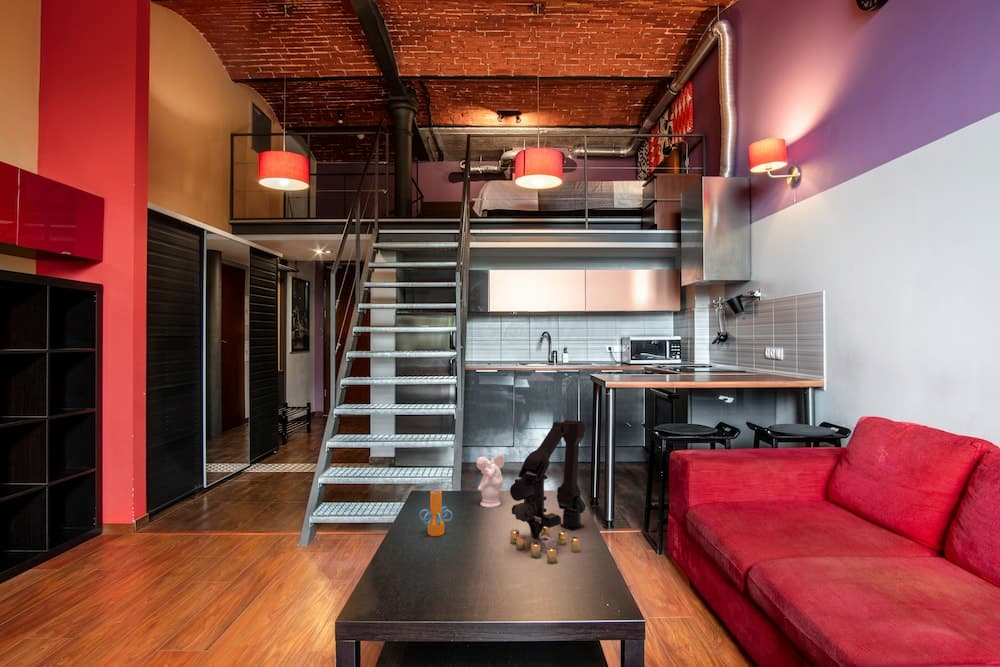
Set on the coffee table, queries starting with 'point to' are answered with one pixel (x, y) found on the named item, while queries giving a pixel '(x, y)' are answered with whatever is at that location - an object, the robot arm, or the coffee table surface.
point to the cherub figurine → (490, 480)
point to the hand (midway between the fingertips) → (535, 539)
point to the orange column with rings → (436, 514)
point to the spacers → (551, 551)
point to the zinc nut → (546, 542)
